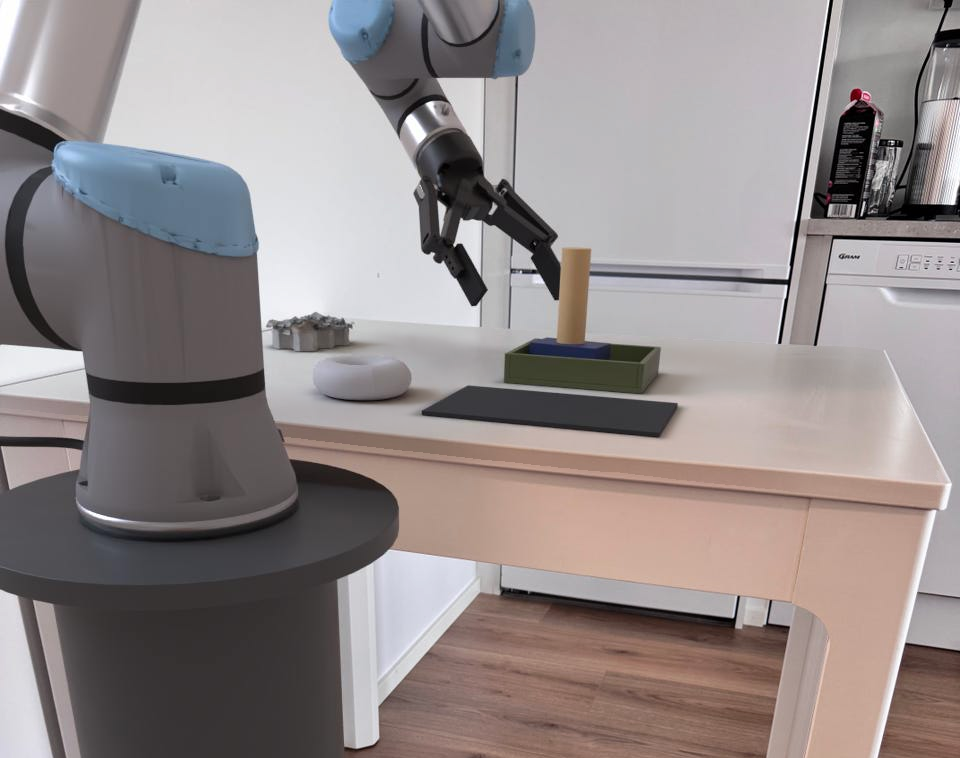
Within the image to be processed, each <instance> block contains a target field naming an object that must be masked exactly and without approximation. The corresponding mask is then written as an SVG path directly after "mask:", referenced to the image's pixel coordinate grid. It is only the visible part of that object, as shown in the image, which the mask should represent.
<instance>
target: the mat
mask: <svg viewBox="0 0 960 758" xmlns="http://www.w3.org/2000/svg"><path fill="white" fill-rule="evenodd" d="M678 405H679V403H678V402H671V401H658V400H647V399H634V398H624V397H623V398H621V397H612V396H611V397H610V396H600V395H588V394H587V395H585V394H575V393H564V392H551V391H539V390H529V389H528V390H527V389H518V388H517V389H515V388H504V387H494V386H482V385H481V386H480V385H466V386H464V387H462V388H460V389H459V390H457V391H455V392H453V393H451V394H450V395H448V396H445V397H444V398H442V399H440V400H439V401H436V402H435V403H433V404H431V405H430V406H428V407H425V408H424V409H422V410H421V415H422V416H429V417H440V418H453V419H460V420H461V419H462V420H471V421H472V420H473V421H484V422H493V423H494V422H495V423H506V424H516V425H524V426H525V425H526V426H537V427H548V428H558V429H569V430H580V431H589V432H590V431H592V432H599V433H609V434H621V435H633V436H643V437H653V438H659V437H660V435H661V434H662V433H663V430H664V429H665V427H666V426H667V424H668V423H669V421H670V420H671V418H672V416H673V415H674V413H675V412H676V410H677V409H678Z"/></svg>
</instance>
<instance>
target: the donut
mask: <svg viewBox="0 0 960 758" xmlns="http://www.w3.org/2000/svg"><path fill="white" fill-rule="evenodd" d="M311 377H312V381H313V385H314V387H315V388H316V390H317V391H318V392H319V393H321V394H323V395H325V396H327V397H330V398H333V399H338V400H339V399H340V400H347V401H377V400H378V401H379V400H389V399H393V398H396V397H399V396H401V395H403V394H404V393H405V392H406V391H407V390H408V389H409V388H410V386H411V384H412V379H413V378H412V372H411V370H410V368H409V366H408V365H407V364H406V363H405V362H404V361H403V360H400V359H398V358H395V357H391V356H386V355H375V354H342V355H334V356H328V357H326V358H325V357H324V358H323V359H322V360H320V361H318V362H317V363H316V364H315V365H314V367H313V369H312V376H311Z"/></svg>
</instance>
